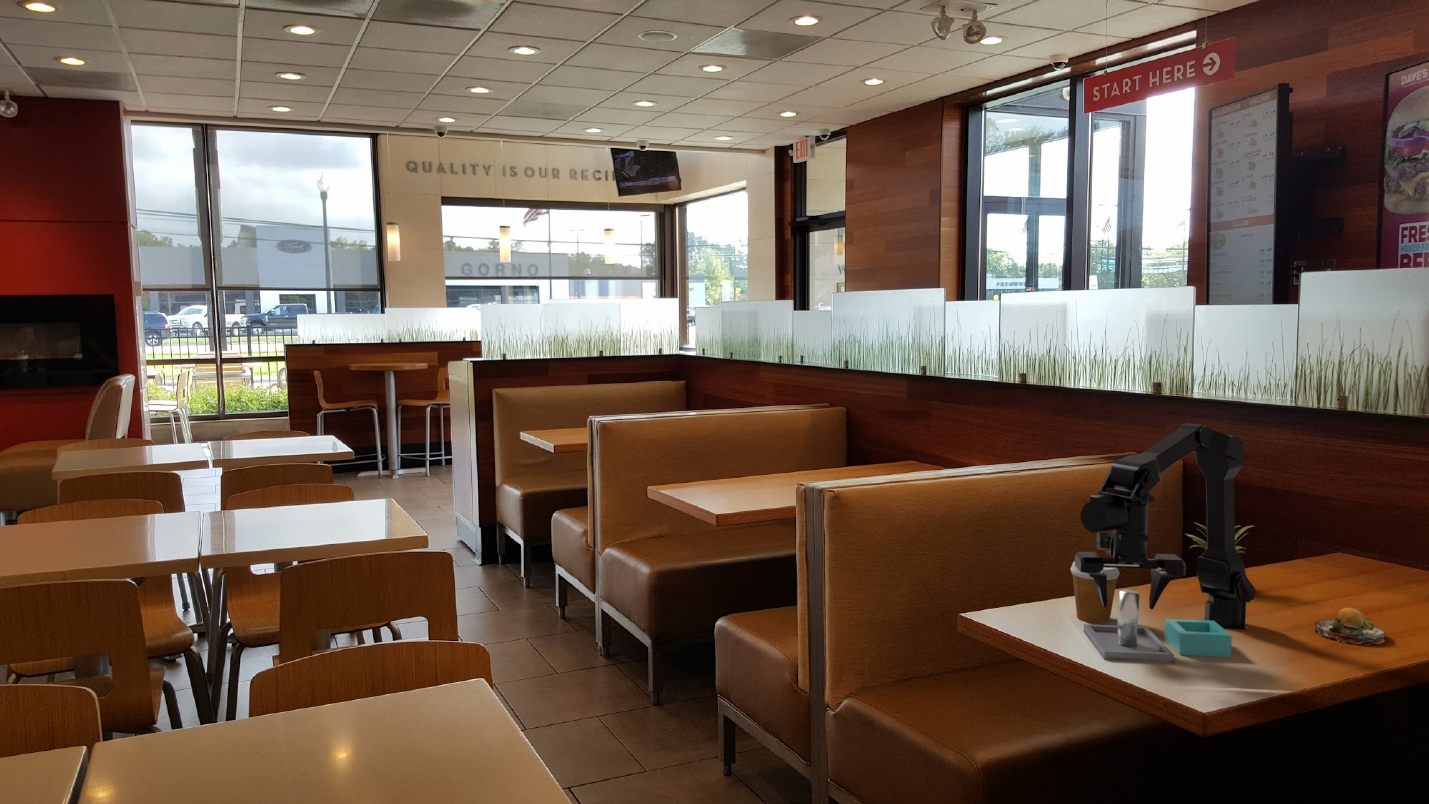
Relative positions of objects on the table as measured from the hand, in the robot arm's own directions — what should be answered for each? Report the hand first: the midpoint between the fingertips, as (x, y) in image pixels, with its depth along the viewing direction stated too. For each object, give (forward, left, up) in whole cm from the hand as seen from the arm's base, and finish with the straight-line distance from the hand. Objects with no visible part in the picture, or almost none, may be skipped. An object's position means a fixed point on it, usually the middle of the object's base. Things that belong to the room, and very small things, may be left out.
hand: (1127, 607), depth 184 cm
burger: (-46, -14, -8) cm, 49 cm away
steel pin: (0, 0, -7) cm, 7 cm away
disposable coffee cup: (+2, -17, -8) cm, 19 cm away
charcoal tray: (0, 0, -8) cm, 8 cm away
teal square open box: (-13, -1, -8) cm, 15 cm away
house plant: (-34, -47, -8) cm, 59 cm away
